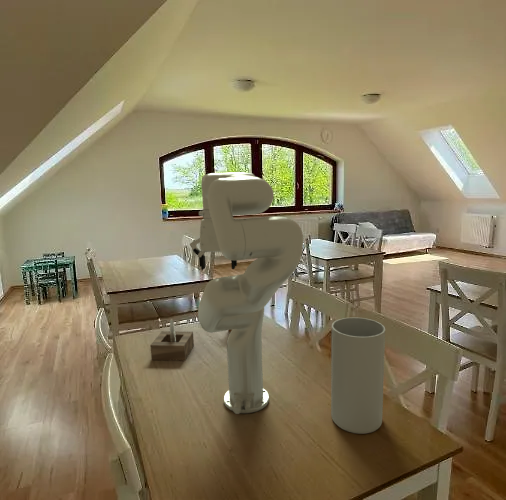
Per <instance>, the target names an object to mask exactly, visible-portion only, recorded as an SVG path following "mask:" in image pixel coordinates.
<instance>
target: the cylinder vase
mask: <svg viewBox="0 0 506 500" xmlns="http://www.w3.org/2000/svg"><path fill="white" fill-rule="evenodd" d="M385 342H386V328H385V325H383V324H382V323H381V322H378V321H377V320H375V319H370V318H366V317H357V316H355V317H352V316H351V317H344V318H340V319H336V320H335V321H333V322H332V323H331V375H330V376H331V377H330V378H331V385H330V387H331V389H330V390H331V395H330V396H331V401H330V402H331V403H330V405H331V406H330V414H331V419H332V421H333V422H334V424H335V425H337V426H338V427H339V428H340V429H342V430H344V431H345V432H349V433H351V434H359V435H362V434H370V433H373V432H376V431H377V430H378V429H379V428H380V427H381V426H382V423H383V410H384V409H383V408H384V407H383V405H384V403H383V402H384V378H385V377H384V376H385V352H386V351H385V348H386V347H385V344H386V343H385Z"/></svg>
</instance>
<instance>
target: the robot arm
mask: <svg viewBox="0 0 506 500" xmlns="http://www.w3.org/2000/svg"><path fill="white" fill-rule="evenodd" d="M200 187H201V192H202V195H201V196H202V210H200V211H198V216H201V217H202V218H203V219H201V220H200V224H199V225H200V228H199V237H198V238H197V239H196V240H194V241H192V242H190V243H189V246H190V247H191V249H192V251H193V253H194V254H195V255H196V256H197V257H198V260H199V267H200V268H201V271H202V270H205V269H206V267H207V266H206V256H205V253H221V254H222V256H223V257H224V258H225V259H227V260H230V263H231V269H232V270H236V269H235V268H236V267H237V266H238V261H245V260H252V259H255V260H253V261H251V263H250V264H249V265H248V266H247V267H246V269H245V271H244V273H242V274H241V273H240V274H237V275H230V276H220V277H217V278H213V279H211V280H209V281H208V282H207V283H206V285H205V288H204V290H203V292H202V296H201V297H200V300H199V305H198V309H197V310H198V311H197V314H198V315H197V318H198V323H199V325H200V327H201V328H202V329H203V330H204V331H205V332H206V333H211V334H213V333H219V332H225V331H229V330H231V329H232V331H231V332H229V335H228V337H227V342H226V355H227V357H226V358H227V374H228V378H227V379H228V390H227V391H226V392H225V394H224V396H223V402H224V403H223V404H224V406H225V407H226V408H227V409H228V410H230V411H232V412H233V413H234V414H236V415H239V414H251V413H256V412H259V411H261V410H262V409H264V408H266V406H267V405H268V404H269V401H270V395H269V393H268V391H267V390H266V389H265V388H264V379H263V378H264V377H263V375H264V374H263V372H264V371H263V352H262V351H263V350H262V349H263V347H262V346H263V345H262V343H263V341H262V338H263V336H262V335H263V334H262V333H263V332H262V331H263V323H264V321H263V320H264V316H265V307H266V305H267V304H268V303H269V302H270V300H271V299H272V298H273V296H275V294H276V292H277V291H278V290H279V289H280V287H282V285H283V284H284V283H285V282H286V281H287V280H288V279H289V278H290V277H291V276H292V275H293V273H294V272H295V271H296V269H297V268H298V265H299V263H300V260H301V258H302V255H303V254H302V253H303V249H304V235H303V231H302V228H301V226H300V225H299V224H298V223H297V222H296V221H295V220H294V219H292V218H288V217H284V216H262V217H246V218H234V217H235V216H237V217H239V216H250V215H259V214H261V213H264V212H265V211H267V210H268V209H269V208H270V207H271V206H272V203H273V201H274V190H273V188H272V186H271V184H269V183H268V181H266V180H265V179H263V178H260V177H258V176H256V175H255V174H254V173H251V172H242V171H241V172H240V171H239V172H236V171H234V172H211V173H207V174H204V175H203V176H202V178H201V185H200ZM198 244H199V248H200V249H199V248H198V247H197V245H198Z"/></svg>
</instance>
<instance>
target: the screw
mask: <svg viewBox="0 0 506 500" xmlns="http://www.w3.org/2000/svg"><path fill="white" fill-rule="evenodd" d="M175 326H176V325H175V323H174V319H173V318H170V320H169V331H170V334H171V335H170V336H171V338H170V339H171V342H176V340H175V339H176V337H175V332H176V331H175V330H176V327H175Z"/></svg>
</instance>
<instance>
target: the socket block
mask: <svg viewBox="0 0 506 500" xmlns="http://www.w3.org/2000/svg"><path fill="white" fill-rule="evenodd" d="M170 335H171V334H170V330H169V331H166V330H165V331H164V330H163V331H161V332H160V333H159V334H158V335H157V336H156V338H155V339H154V340H153V341H152V342H151V344H150V356H151V361H186V360H187V358H188V357H189V355H190V353H191V352H192V349H193V348H194V346H195V342H194V341H195V340H194V339H195V338H194V331H175V337H176V339H175V340H176V342H171V339H170V338H171V336H170Z"/></svg>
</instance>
